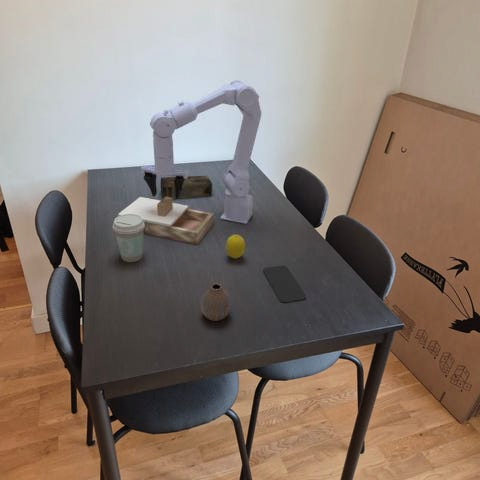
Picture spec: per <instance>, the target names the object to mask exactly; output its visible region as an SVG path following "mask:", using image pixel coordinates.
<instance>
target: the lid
mask: <svg viewBox="0 0 480 480" xmlns="http://www.w3.org/2000/svg"><path fill="white" fill-rule="evenodd" d="M173 200H174V199H172V198H171V197H165V198H163V197H162V199H161V200H158V199H153V198H148V197H143V196H139V197H138V198H137V199H135V200H134V201H133V202H132V203H131V204H129V205H128V206H126V207H125V208H124V209H122V210H121V211H120V212H119V213H117V217H118V216H120V215H124V214H136V215H139V216H140V217H141V218H142V220H143V221H144V222H148V223H153V224H158V225H163V226H168V227H171V226H172V225H173V224H174V223H175V221H176V220H177V219H178V218H179V217H180V216H181V215H182V214H183V213H184V212H185V211H186V210H187V209H189V205H186V204H185V205H184V204H180V203H175V202H173Z"/></svg>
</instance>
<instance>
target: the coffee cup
mask: <svg viewBox="0 0 480 480" xmlns="http://www.w3.org/2000/svg"><path fill="white" fill-rule="evenodd" d="M144 227H145V224H144V221H143V220H142V218H141V217H140V216H139V215H136V214H124V215H120V216H118V215H117V217H115V218H114V220H113V224H112V230H113V232H114V234H115V237H116V242H117V245H118V250H119V253H120V257H121V260H123V261H124V262H126V263H134V262H135V263H136V262H138V261H139V260H141V259H142V258H143V253H144V252H143V251H144V250H143V249H144V231H145V229H144Z"/></svg>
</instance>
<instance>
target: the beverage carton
mask: <svg viewBox="0 0 480 480" xmlns="http://www.w3.org/2000/svg"><path fill="white" fill-rule="evenodd" d="M175 178H176V177H174V176H166V177H160V193H161V197H162V199H163V198H165V197H171V198H172V200H177V199H176V198H175V185H174V179H175ZM212 195H213V182H212V180H211V178H210V176H209V175H193V176H192V175H190V176H189V175H188V178H187V179H185V180H184V182H183V185H182V188H181V191H180V197H179V199H190V198H191V199H192V198H193V199H194V198H204V197H205V198H207V197H213V196H212Z"/></svg>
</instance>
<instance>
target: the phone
mask: <svg viewBox="0 0 480 480" xmlns="http://www.w3.org/2000/svg"><path fill="white" fill-rule="evenodd" d="M262 272H263V274H264V276H265V278H266V280H267V281H268V283H269V285H270V286H271V288H272V291H273V292H274V293H275V296H276V298H277V299H278V300H279V302H280V303H282V304H288V303H294V302H301V301H306V299H307V296H306V294H305V292H304V291H303V289H302V287H301V286H300V285H299V283H298V282H297V280H296V278H295V277H294V275H293V274H292V273H291V271H290V269H289V268H288V267H287V266H286V265H277V266H271V267H270V266H269V267H264V268H263V269H262Z"/></svg>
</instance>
